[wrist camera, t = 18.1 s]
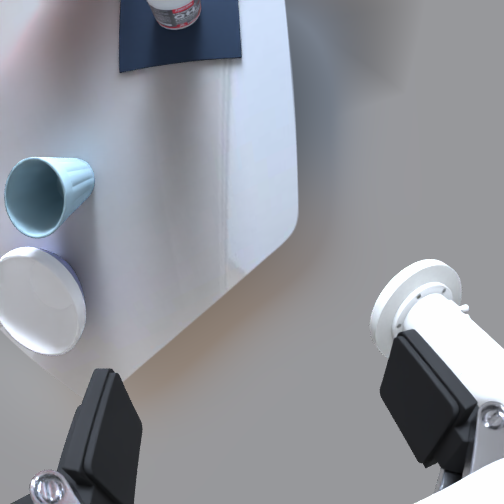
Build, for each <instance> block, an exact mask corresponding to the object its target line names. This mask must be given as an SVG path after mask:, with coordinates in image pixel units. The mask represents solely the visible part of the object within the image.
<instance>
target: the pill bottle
mask: <svg viewBox="0 0 504 504" xmlns="http://www.w3.org/2000/svg"><path fill="white" fill-rule="evenodd" d="M147 2H148V4H149V6H150V8H151V10H152V13H153V15H154V17H155V19H156V21H157V22H158V23H159V24H160V25H161V26H162V27H164V28H166V29H171V30H178V29H183V28H185V27H188V26H190V25H191V24H193V23H194V22H195V21H196V20H197V19H198V17H199V15H200V12H201V0H147Z"/></svg>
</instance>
